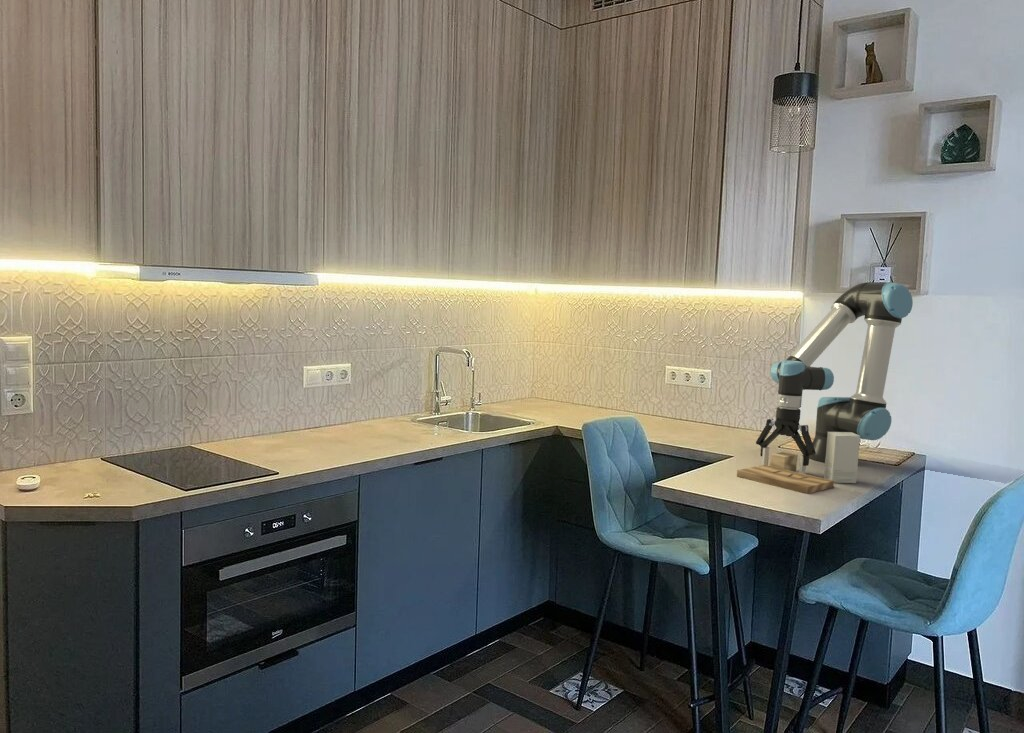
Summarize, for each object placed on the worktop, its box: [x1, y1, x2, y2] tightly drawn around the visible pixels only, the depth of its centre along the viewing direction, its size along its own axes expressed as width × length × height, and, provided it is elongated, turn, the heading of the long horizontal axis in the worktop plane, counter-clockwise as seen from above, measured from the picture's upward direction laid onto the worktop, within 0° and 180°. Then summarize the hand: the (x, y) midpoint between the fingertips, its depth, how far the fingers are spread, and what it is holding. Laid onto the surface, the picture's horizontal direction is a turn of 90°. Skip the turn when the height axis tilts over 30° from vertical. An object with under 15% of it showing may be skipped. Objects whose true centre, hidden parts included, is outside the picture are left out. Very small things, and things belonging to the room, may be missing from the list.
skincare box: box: [823, 432, 861, 484], centre depth 251 cm, size 8×7×16 cm
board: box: [736, 464, 835, 495], centre depth 247 cm, size 16×24×2 cm, turn 41°
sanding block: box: [769, 451, 799, 472], centre depth 261 cm, size 8×5×6 cm, turn 131°
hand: (782, 470), depth 261 cm, fingers open, 13 cm apart
